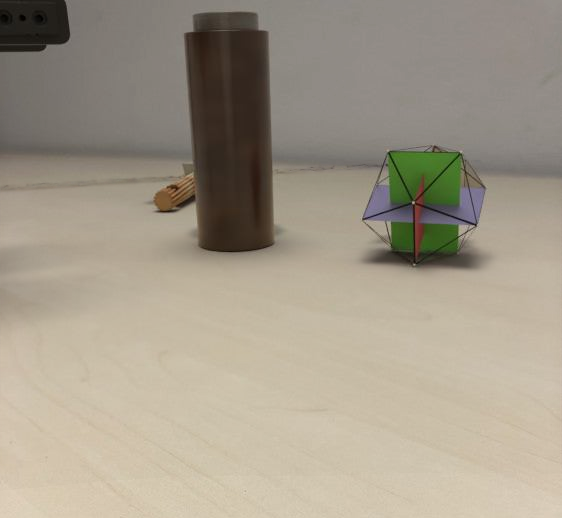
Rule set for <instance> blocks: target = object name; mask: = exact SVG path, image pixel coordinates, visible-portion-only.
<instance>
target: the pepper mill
mask: <svg viewBox="0 0 562 518" xmlns="http://www.w3.org/2000/svg"><path fill="white" fill-rule="evenodd" d="M191 19H192V30H193V31H187V32H184V33H183V43H184V44H183V45H184V58H185V59H184V60H185V73H186V87H187V88H186V89H187V100H188V114H189V126H190V127H189V128H190V130H189V131H190V142H191V155H192V163H193V172H194V186H195V194H194V197H195V198H194V199H195V200H194V201H195V213H196V225H197V238H198V239H197V241H198V246H199V247H201V248H203V249H206V250H209V251H210V250H211V251H215V252H243V251H253V250H259V249H263V248H267V247H269V246H272V245H274V243H275V216H274V215H275V209H274V182H273V181H274V173H273V141H272V140H273V135H272V104H271V102H272V101H271V100H272V99H271V73H270V71H271V69H270V68H271V67H270V66H271V65H270V35H269V34H270V33H269V31H268V30H264V29H260V28H259V27H260V25H259V13H258V12H257V11H256V12H254V11H244V10H243V11H241V10H240V11H237V10H236V11H235V10H232V11H230V10H229V11H207V12H198V13H193V14H192V16H191Z"/></svg>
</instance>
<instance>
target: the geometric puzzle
mask: <svg viewBox="0 0 562 518" xmlns="http://www.w3.org/2000/svg"><path fill="white" fill-rule="evenodd" d="M426 147H427V149H425V150H424V151H413V147H410V148H407V150H406V151H405V148H402V149H401V148H400V150H398V149H394V150H389V149H386V156H385V158H384V160H383V163H382V165H381V169H380V171H379V173H378V175H377V179H376V181H375V184H374V187H373V189H372V192H371V194H370V197H369V199H368V202H367V204H366V208H365V210H364V212H363V216H362V218H360V222H363V223H364V224H365V226H367V227H368V228H369V229H370V230H371V231H373V232H374V233H375V234H376V236H378V237H379V238H380V240H381V241H383V242H384V243H385V245H387V246H388V247H389V248H390V250H391V251H394V252H395V253H396V254H398V255H400V256H401V257H403V259H405V260H407V261H408V262H409V263H411V264H412V266H413V267H415V266H416V265H420V264H423V263H427V262H430V261H431V262H432V261H434V260H438V259H441V258H444V257H445V258H446V257H448V256H451V255H452V256H453V255H455V254H456V255H459V254H460V250H461V249H462V248H463V246H464V245H465V243H466V242H467V241H468V239H469V238H470V237H471V235H472V234H473V233H474V232H475V230H476V228H479V227H480V224H479V221H480V218H481V217H480V216H481V212H482V208H483V203H484V199H485V194H486V190H488V187H487V186H485V184H484V183H483V181H482V180H481V179H480V177H479V175H478V174H477V173H476V171H475V170H474V169H473V167H472V165H471V164H470V163H469V161H468V160H467V158H466V157H465V155H464V154H463V150H459V151H458V150H454V149H450V148H446V147H443V146H441V147H440V146H439V145H435V144H433V143H432V144H431V145H430V146H429V147H428V145H423V146H422V148H426ZM418 148H420V146H417V147H415V149H418ZM431 148H432V149H431ZM430 149H431V151H428V150H430ZM409 150H411V151H409ZM447 150H449V151H447ZM387 159H388V161H387ZM386 161H387V163H388V176H387V177H384V179H382V180H380V178H381V175H382V172H383V169H384V166H385V163H386ZM386 179H388V184H381V183H382V182H383V181H385V180H386ZM366 221H371V222H374V221H375V222H384V223H385V227H386V231H387V232H386V233H387V236H388V240H389V241H388V240H386V239H385V238H384V237H383V236H382V235H380V233H378V232H377V231H376V230H375V229H373V227H372V226H370V225H369V224H367V223H366ZM387 222H390V231H389V228H388V223H387ZM460 226H468V227H467V229H466V231H464V232H463V233H461V234H459V231H460ZM470 226H473V227H471V228H470ZM470 231H472V232H471V233H470V235H469V236H468V237H467V239H466V240H465V237H466V235H467V233H469V232H470ZM462 236H463V239H462V240H461V243H460V246H459V238H461V237H462ZM464 240H465V241H464ZM463 242H464V243H463ZM399 250H401V251H413V262H412V260H410V259H409V258H408V257H407V256H405V255H404V254H403V253H401V251H399ZM419 252H431V253H430V254H427V256H425V257H423V258H421V259H420V260H418V261H417V258H418V255H419ZM435 253H449V254H447V255H444V256H440V257H437V258H433V259H429V260H426V261H424V260H425V259H427V258H428V257H430V256H432V255H434V254H435ZM416 261H417V262H416ZM422 261H423V262H422Z"/></svg>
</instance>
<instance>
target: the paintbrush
mask: <svg viewBox="0 0 562 518" xmlns="http://www.w3.org/2000/svg"><path fill="white" fill-rule="evenodd" d="M181 165H182V169H183V172H184V177H182V178H180V179H178V180H177V181H175V182H173V183H171V184H169V185H167V186H166V187H164V188H161V189H159V190H157V192H156V193H154V195H155V196H153V199H154V200H153V203H154V206H155V207H156V208H157V210H160V211H161V212H163V211H164V212H167V211H171V210H172V209H174V208H175V207H176V206H178V205H180V204H181V203H184V202H185V201H186V200H188V199H189V198H191V197H192V196H195V186H194V172H193V162H190V163H182V164H181Z"/></svg>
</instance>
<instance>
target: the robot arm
mask: <svg viewBox="0 0 562 518" xmlns="http://www.w3.org/2000/svg"><path fill="white" fill-rule="evenodd" d="M68 13H69V12H68V5H67V2H66V0H0V53H40V52H43V51H44V50H46V48H47V46H60V45H61V46H62V45H65V44H66V43H68V41H70V39H71V29H70V21H69V14H68Z"/></svg>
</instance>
